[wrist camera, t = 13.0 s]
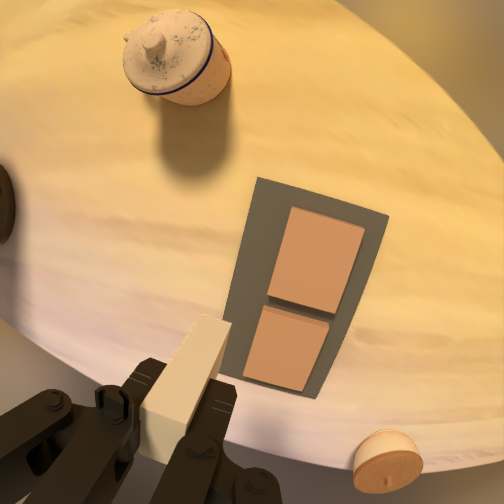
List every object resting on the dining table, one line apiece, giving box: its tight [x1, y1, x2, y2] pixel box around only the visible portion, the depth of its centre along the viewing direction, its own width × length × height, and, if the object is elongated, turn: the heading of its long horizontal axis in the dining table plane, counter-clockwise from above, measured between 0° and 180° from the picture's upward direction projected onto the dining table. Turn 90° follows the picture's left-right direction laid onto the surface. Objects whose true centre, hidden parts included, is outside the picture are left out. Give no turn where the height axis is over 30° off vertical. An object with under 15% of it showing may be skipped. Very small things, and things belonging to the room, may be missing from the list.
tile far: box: [243, 305, 329, 391], centre depth 38 cm, size 2×10×8 cm
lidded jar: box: [353, 429, 423, 494], centre depth 38 cm, size 11×11×9 cm
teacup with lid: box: [123, 10, 231, 106], centre depth 27 cm, size 12×9×12 cm
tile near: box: [267, 206, 365, 314], centre depth 35 cm, size 2×10×8 cm
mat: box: [219, 177, 389, 399], centre depth 38 cm, size 15×26×1 cm, turn 166°
